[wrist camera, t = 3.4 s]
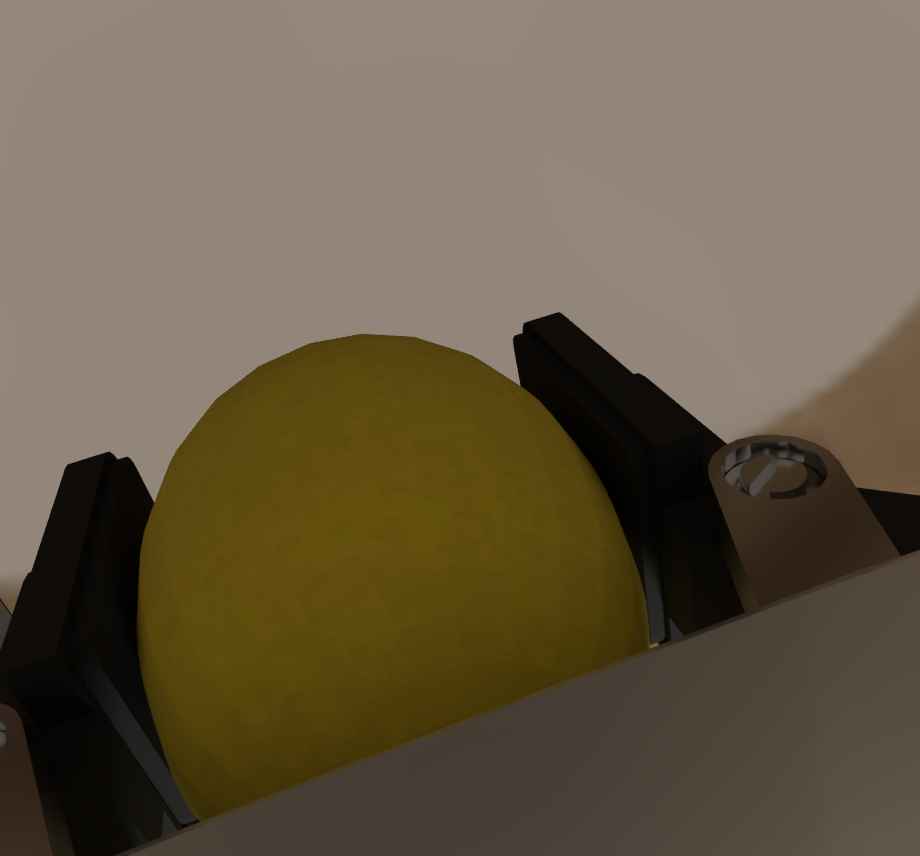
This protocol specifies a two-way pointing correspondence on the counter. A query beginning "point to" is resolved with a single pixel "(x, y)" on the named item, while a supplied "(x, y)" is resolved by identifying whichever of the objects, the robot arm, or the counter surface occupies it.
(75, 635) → the robot arm
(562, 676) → the lemon
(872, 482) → the counter surface
